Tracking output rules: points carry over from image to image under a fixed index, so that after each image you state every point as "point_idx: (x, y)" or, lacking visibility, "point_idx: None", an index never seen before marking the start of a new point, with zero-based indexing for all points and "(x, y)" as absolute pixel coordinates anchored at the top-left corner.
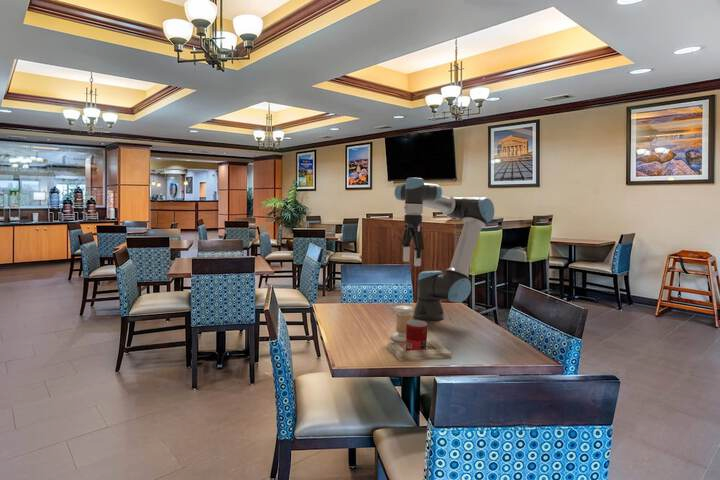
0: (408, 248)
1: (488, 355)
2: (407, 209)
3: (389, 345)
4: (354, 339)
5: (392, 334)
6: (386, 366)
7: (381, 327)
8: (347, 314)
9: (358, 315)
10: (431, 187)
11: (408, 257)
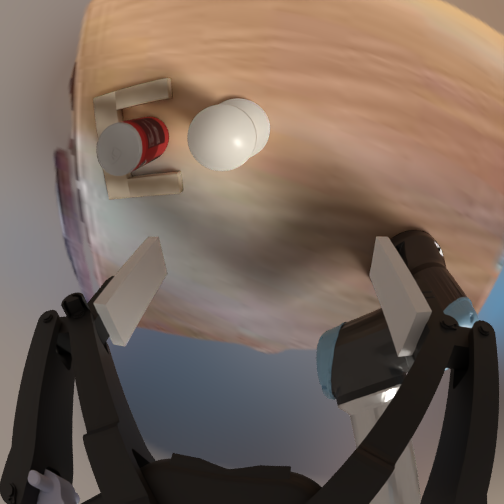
0: (398, 337)
1: None
2: None
3: (155, 80)
4: (240, 11)
5: (251, 104)
6: (79, 73)
7: (344, 102)
8: (469, 71)
9: (459, 93)
10: None
11: (378, 287)
